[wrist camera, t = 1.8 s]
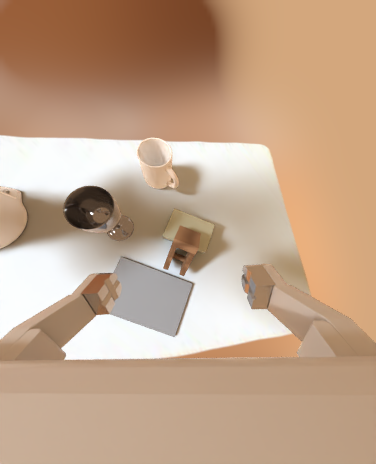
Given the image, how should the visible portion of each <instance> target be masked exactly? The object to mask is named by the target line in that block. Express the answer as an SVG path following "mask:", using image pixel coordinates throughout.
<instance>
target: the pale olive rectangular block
mask: <svg viewBox="0 0 376 464" xmlns="http://www.w3.org/2000/svg"><path fill="white" fill-rule="evenodd" d="M180 225H181V226H183V227H186V228H188V229H191V230H193V231H196V232H199V233H201V237H200V244H199V249H198V252H201V253H205V252H206V251H207V248H208V245H209V242H210V239H211V236H212V233H213V230H214V227H215V224H212V223H210V222H207V221H205V220H202V219H200V218H197V217H195V216H192V215H190V214H187V213H185V212H182V211H180V210H177V209H175V208H174V210H173V212H172V215H171V217H170V219H169V222H168V224H167V226H166V229H165V231H164V233H163V238H165V239H168V240H170V241H173V240H174V238H175V235H176V233H177V231H178V229H179V226H180Z"/></svg>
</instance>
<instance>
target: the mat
mask: <svg viewBox="0 0 376 464" xmlns="http://www.w3.org/2000/svg"><path fill="white" fill-rule="evenodd" d="M114 273H116V274H117V276H118V278H117V280H118V281H119V282H120V283H121V286H122V290H121V294H120V296H119V297H118V298H117V299H116V300H115V305H114V307H113V309H112V311H111V312H110V314H111V315H114V316H117V317H119V318H122V319H125V320H128V321H131V322H133V323H136V324H139V325H142V326H145V327H147V328H150V329H153V330H156V331H159V332H161V333H164V334H167V335H170V336H173V337H175V334H176V331H177V328H178V325H179V322H180V320H181V317H182V314H183V311H184V308H185V305H186V302H187V299H188V296H189V293H190V290H191V287H192V283H190V282H187V281H184V280H182V279H179V278H176V277H174V276H171V275H169V274H166V273H163V272H161V271H158V270H155V269H153V268H150V267H147V266H145V265H142V264H139V263H137V262H134V261H131V260H129V259H126V258H123V257H121V258H120V261H119V263H118V265H117V267H116V269H115V271H114Z"/></svg>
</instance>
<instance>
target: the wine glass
mask: <svg viewBox="0 0 376 464" xmlns="http://www.w3.org/2000/svg"><path fill="white" fill-rule="evenodd" d="M63 212H64V216H65V218H66V220H67V221H68V222H69V223H70V224H71V225H72V226H74V227H76V228H79V229H81V230H85V231H88V232H94V233H104V232H107V234H108V235H109V237H110V238H112V239H114V240H118V241H121V240H125V239H127V238H128V237H130V235H131V234H132V232H133V229H134V225H133V222H132V221H131V219H129V218H128V217H126V216H121V212H120V208H119V206H118V204H117V202H116V201H115V199H114V198H113V197H112V196H111V195H110V194H109V193H108V192H107V191H106V190H105V189H103V188H100V187H97V186H84V187H81V188H78V189H76V190H75V191H73V192H72V193H71V194H70V195H69V196H68V197H67V199H66V200H65V203H64V207H63Z"/></svg>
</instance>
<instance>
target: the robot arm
mask: <svg viewBox="0 0 376 464" xmlns="http://www.w3.org/2000/svg"><path fill="white" fill-rule="evenodd" d="M26 223H27V212H26V209H25V207H24V205H23V203H22V195H21V192H20V191H18V190H16V189H12V188H6V187H1V186H0V249H1V248H3V247H5V246H7V245H9V244H10V243H12V242H13V241H15V240H16V239H17V238H18V237H19V236H20V235H21V233H22V232H23V230H24V228H25V226H26ZM243 273H244V274H243V275H242V286H243V289H244V292H246V293H247V294H248V296H247V299H248V301H249V304H250V306H251V309H268V311H269V312H271V313H272V314H273V315H274V316H275V317H276V318H277V319H278V320H279V321H280V322H281V323H282V324H284V325H285V326H286V327H287V328H288V329H289V330H290V331H291V332H292V333H293V334H294V335H295V336H297V337H298V338H299V339H300V340H301V341H302V344H301V345H300V347H299V349H298V352H297V354H298V356H299V357H272V358H271V357H268V358H185V359H184V358H182V359H180V358H179V359H94V360H64V358H65V357H66V353H65V352H64V351H63V350H62V349H61V348H62V347H63V346H64V345H65V344H66V343H67V342H68V341H70V340H71V339H72V338H73V337H74V336H75V335H76V334H77V333H78V332H79V331H80V330H81V329H82V328H83V327H84V326H86V325H87V324H88V323H89V322H90V321H91V320H92V319H93V318H94V317H95V316H96V315H103V314H110V312H111V311H112V309H113V307H114V305H115V300H116V299H117V298H118V297H119V296H120V294H121V290H122V286H121V283H120V282H119V281H118V280H117V278H118V276H117V274H116V273H99V274H91V275H89V276H88V277H87V278H86V279H85V280H84V282H83V283H82V284H81V285H80V286H79V287H78V288H77V289H76V290H75V291H74V292H73V293H72V295H68V296H66V297H65V298H63V299H61V300H60V301H58V302H56V303H55V304H53V305H51V306H50V307H48V308H46V309H45V310H43V311H41V312H40V313H38V314H36V315H35V316H33V317H31V318H30V319H28V320H26V321H25V322H23V323H21V324H20V325H18V326H16V327H15V328H13V329H12V330H11V331H10V332H9V333H8V334H6V335H5V336H4V337H3V338H2V339H1V340H0V464H376V343H375V342H374V341H373V340H372V339H371V338H370V337H369V336H368V335H367V334H366V333H365V332H364V331H363V330H362V329H361V328H360V327H359V326H358V325H357V324H356V323H355V322H354V321H353V320H352V319H350V318H349V317H347V316H345V315H343V314H341V313H340V312H338V311H336V310H334V309H333V308H331V307H329V306H327V305H325V304H323V303H322V302H320V301H318V300H316V299H315V298H313V297H311V296H309V295H308V294H306V293H304V292H302V291H300V290H299V289H297V288H295V287H293V286H292V285H287V284H286V282H285V281H284V280H283V279H282V277H281V276H280V275H279V274H278V272H277V271H276V270H275V269H274V267H273V266H272V265H271V264H261V265H260V264H259V265H244V266H243Z"/></svg>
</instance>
